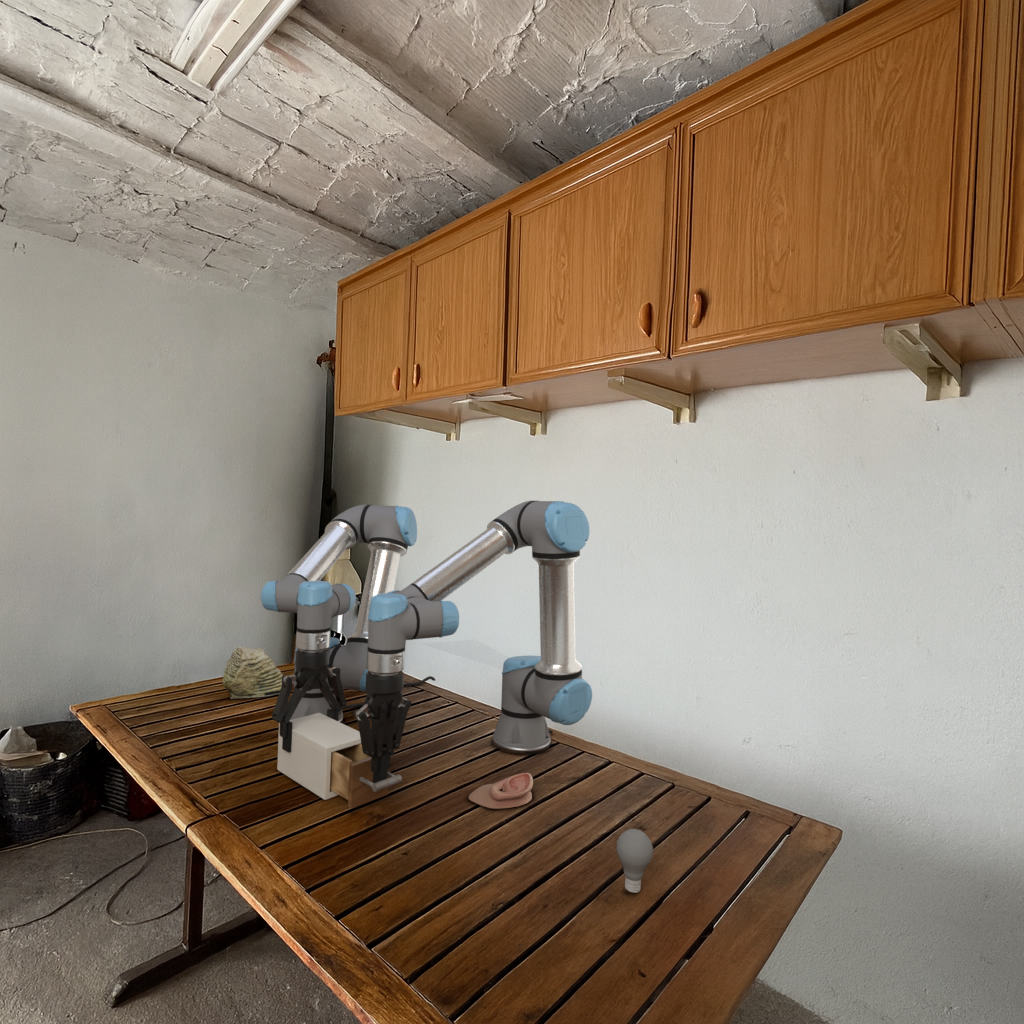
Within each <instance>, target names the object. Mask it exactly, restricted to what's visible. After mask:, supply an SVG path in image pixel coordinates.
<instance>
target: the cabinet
mask: <svg viewBox="0 0 1024 1024" xmlns="http://www.w3.org/2000/svg"><path fill="white" fill-rule="evenodd" d="M290 722H292V749H291V752H287V751H285V750H283V749H282V740H283V737H281V736H280V723H278V736H277V737H278V739H277V742H278V743H277V762H276V763H277V767H276V769H277V771H278V772H280V773H282V774H283V775H285V776H287V777H288V778H290V779H291V780H293V781H294V782H296V783H297V784H299V785H300V786H302V787H304V788H305V789H307V790H308V791H310V792H312V793H313V794H315V795H316V796H318V797H319V798H321V799H323V800H324V801H326V800H329V799H332V798H334V797H337V796H339V795H338V794H337V793H335V792H333V791H332V790H330V771H331V752H334V751H337V750H340V749H344V748H347V747H350V746H353V745H357V744H360V743H361V738H360V732H359V730H357V729H354V728H353V727H351V726H348V725H346V724H345V723H343V722H342V723H340V722H338V721H336V720H334V719H332V718H330V717H327V716H325V715H323V714H321V713H316V714H312V715H308V716H304V717H300V718H296V719H292V720H290Z"/></svg>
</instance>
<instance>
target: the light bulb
mask: <svg viewBox="0 0 1024 1024" xmlns="http://www.w3.org/2000/svg"><path fill="white" fill-rule="evenodd" d="M615 849H616V854H617V857H618V859H619V861H620V863H621V865H622V867H623V873H624V874H623V875H624V876H625V878H624V888H625V890H627V891H628V892H630V893H634V894H635V893H639V892H640V891H641V889H642V887H641V886H642V879H643V877H644V875H645V871H646V868H647V867H648V866H649V864H650V863H651V861H652V859H653V855H654V847H653V843H652V841H651V838H649V836H648V835H647V834H646V833H645V832H643V831H642V830H641V829H636V828H629V829H627V830H625V831H623V832H622V833H621V834H620V835H619V837H618V839H617V841H616V847H615Z"/></svg>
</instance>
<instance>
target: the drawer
mask: <svg viewBox="0 0 1024 1024" xmlns="http://www.w3.org/2000/svg"><path fill="white" fill-rule="evenodd" d="M390 769H391V767H390V768H389V769H388V771H387V779H385V780H382V781H379V782H376V783H373V772H372V771H371V757H370V756H368V755H366V754H364V753H363V750H362V744H361V743H360V744H357V745H353V746H350V747H347V748H344V749H340V750H337V751H334V752H331V771H330V790H332V791H333V792H335V793H337V794H338V795H337V796H340V797H342V798H343V799H345V800H347V808H349V809H350V810H351V809H355V808H357V807H360V806H363V805H365V804H368V803H370V802H372V801H375V800H378V799H380V798H383V797H385V796H387V795H389V794H390V787H392V786H395V785H398V784H401V783H402V781H403V777H402V775H401V774H399V773H397V774H393V773H391V772H390V771H391V770H390Z"/></svg>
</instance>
